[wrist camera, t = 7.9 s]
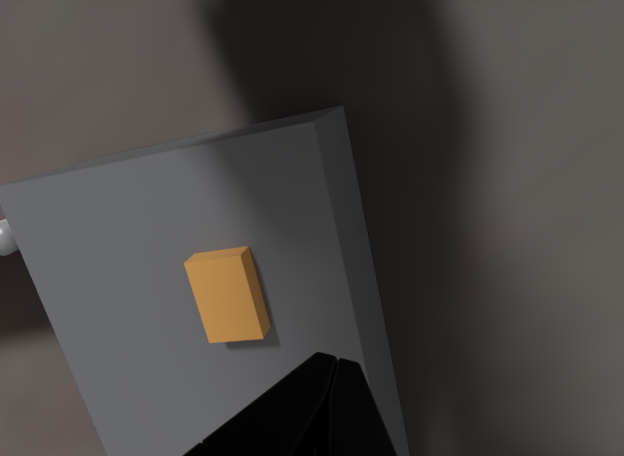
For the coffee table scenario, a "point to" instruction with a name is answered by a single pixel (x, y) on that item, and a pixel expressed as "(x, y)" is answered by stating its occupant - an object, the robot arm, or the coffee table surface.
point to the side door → (7, 239)
